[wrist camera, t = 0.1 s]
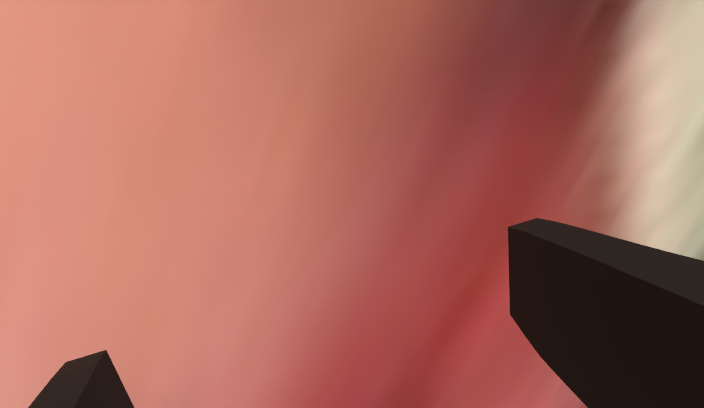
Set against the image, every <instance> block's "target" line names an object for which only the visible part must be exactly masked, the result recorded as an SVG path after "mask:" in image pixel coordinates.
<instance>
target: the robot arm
mask: <svg viewBox="0 0 704 408" xmlns="http://www.w3.org/2000/svg"><path fill="white" fill-rule="evenodd" d="M508 243H509V288H510V315H511V316H512V318H513V319H514V321H515V322H516V323H517V325H518V326H519V328H520V329H521V331H522V332H523V333H524V335H525V336H526V338H527V339H528V340H529V342H530V343H531V344H532V346H533V347H534V348H535V350H536V351H537V352H538V354H539V355H540V357H541V358H542V359H543V360H544V361H545V362H546V363H547V364H548V365H549V367H550V368H551V369H552V370H553V371H554V372H555V373H556V374H557V375H558V376H559V377H560V378H561V380H562V381H563V382H564V383H565V384H566V385H567V386H568V387H569V388H570V389H571V390H572V391H573V392H574V393H575V394H576V396H577V397H578V398H579V399H580V400H581V401H582V402H583V403H584V404H585V405H586V406H587V407H588V408H704V261H702V260H698V259H694V258H690V257H686V256H682V255H678V254H674V253H670V252H666V251H663V250H659V249H655V248H651V247H648V246H644V245H640V244H636V243H633V242H629V241H626V240H622V239H618V238H615V237H611V236H608V235H604V234H600V233H597V232H593V231H589V230H586V229H582V228H578V227H574V226H571V225H567V224H563V223H558V222H554V221H549V220H544V219H539V218H536V219H533V220H529V221H526V222H523V223H520V224H516V225H513V226H510V227H508ZM28 408H134V406H133V404H132V402H131V400H130V398H129V396H128V394H127V392H126V390H125V388H124V386H123V384H122V382H121V380H120V377H119V375H118V373H117V371H116V369H115V367H114V365H113V363H112V361H111V359H110V357H109V355H108V353H107V351H106V350H104V351H101V352H98V353H95V354H91V355H88V356H85V357H82V358H78V359H75V360H72V361H68V362H66V363H65V364H64V365H63V366H62V367H61V368H60V369H59V371H58V372H57V373H56V374H55V375H54V376H53V378H52V379H51V380H50V381H49V382H48V384H47V385H46V386H45V387H44V389H43V390H42V391H41V392H40V394H39V395H38V396H37V397H36V399H35V400H34V401H33V402H32V404H31V405H30V406H29V407H28Z"/></svg>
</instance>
